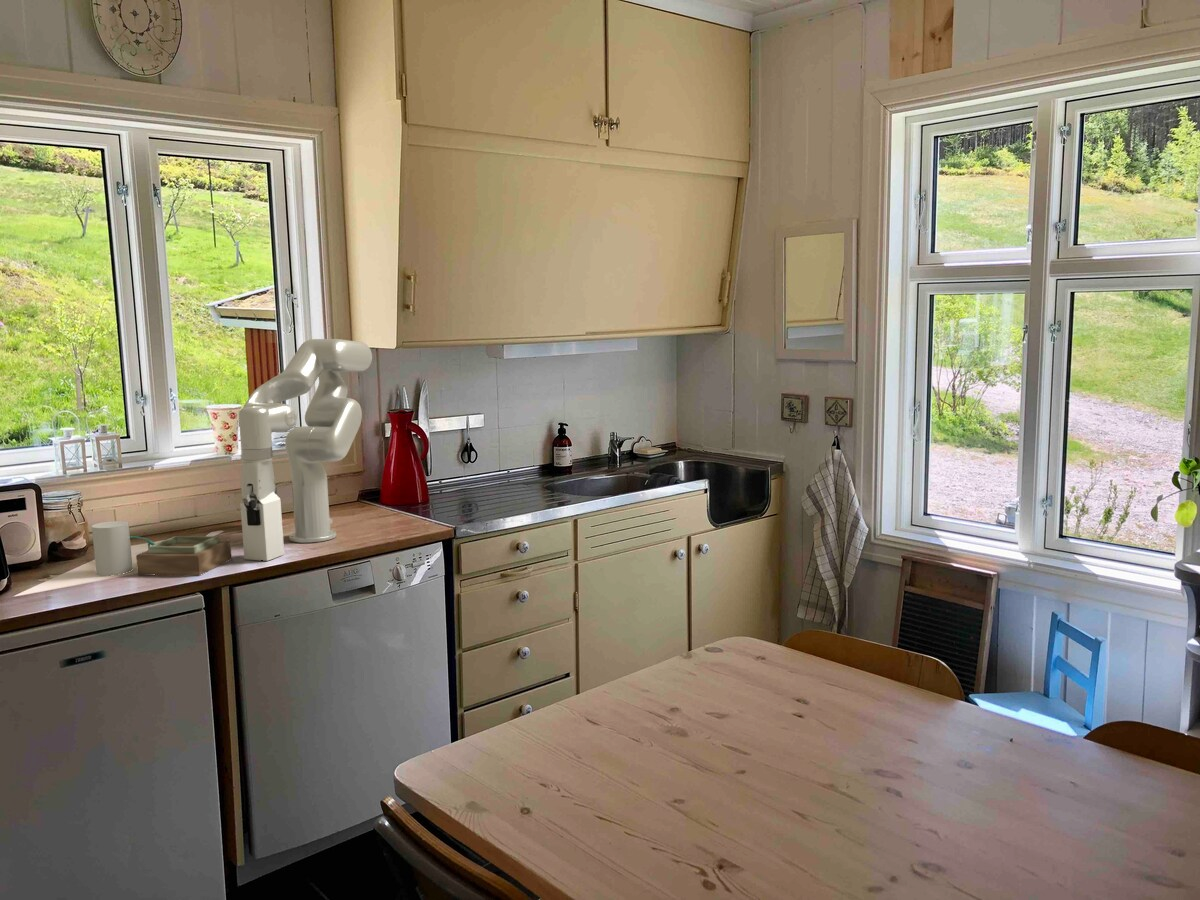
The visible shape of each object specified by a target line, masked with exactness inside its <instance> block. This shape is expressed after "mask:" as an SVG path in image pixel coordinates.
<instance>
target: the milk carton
mask: <svg viewBox="0 0 1200 900" xmlns="http://www.w3.org/2000/svg"><path fill="white" fill-rule="evenodd" d="M252 494H253V493H252ZM253 495H254V494H253ZM254 496H255V497H251V498H257V497H256V495H254ZM239 503H240V504H239V505H240V518H241V530H242V532H241V533H242V544H243V545H242V546H243V555H244V556H243V559H244V560H249V561H261V560H263V561H264V562H268V561H271V560H274V559H276V558H278V557H281V556H284V555H285V545H284V532H283V531H284V530H283V518H282V516H283V515H282V502H281V498H280V497H279V496H278V495H276V494H275V493H274V492H272V493H271V494H270V495H268V496H267V497H266V498H264V499H261V500H259V505H258V510H260V525H259V526H249V525H248V524H247V511H246V509H245V508H246V507H245V505H244V501H243V499H242V500H241V501H240V502H239ZM253 504H255V502H253ZM263 561H262V562H263Z"/></svg>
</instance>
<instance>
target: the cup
mask: <svg viewBox="0 0 1200 900" xmlns="http://www.w3.org/2000/svg"><path fill="white" fill-rule="evenodd" d="M91 531H92V533H91V534H92V541H93V542H92V543H93V551H94V552H93V553H94V563H95V565H94V566H95V572H96V573H95V574H96V576H99V577H111V575H114V576H119V575H118V574H121V575H124V574H123V573H125V574H127V573H126V572H128V573H130V572H129V571H131V570H132V569H133V568H134V567H133V559H132V558H133V557H132V546H131V538H130V536H131V535H130V534H131V533H130V526H129V521H126V520H113V521H105V522H104V521H103V522H99V523H95V524H92V525H91ZM133 570H134V569H133ZM133 570H132V571H133ZM132 571H131V572H132Z"/></svg>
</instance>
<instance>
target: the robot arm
mask: <svg viewBox="0 0 1200 900" xmlns="http://www.w3.org/2000/svg"><path fill="white" fill-rule="evenodd" d="M297 349H298V350H297V351H296V352H295V353H294V355H293V356H292V358H291V360H289V363H287V366H286V367H285V368H284V370H283V371H282V372H281V373H280V374H277V375H275V376H274V377H271V379H269V380H267V381H266V382H264V383H263V384H261V385H260V386H258V387H257V388H256V389H255V390H254V391H253V392H252V393H251V394H250V395H249V397H248V399H247V400H246V402H245V403H244V405H243V407H242V408H241V409H240V410H239V412H238V425H239V426H238V427H239V435H240V449H241V451H240V452H241V453H240V454H241V462H242V463H241V472H240V473H241V474H240V478H241V479H240V480H241V481H240V483H241V485H240V486H241V487H240V489H241V499H242V500H243V501H244V505H245V507H246V508H245V509H246V511H247V524H248V525H249V526H259V525H260V510H258V505H259V500H261V499H264V498H266V497H267V496H268V495H270V494H271V493H272V492H274V493H275V490H276V487H277V484H276V481H275V480H276V478H275V473H274V472H275V471H274V464H273V461H274V456H273V441H272V440H273V439H272V433H284V432H288V433H287V434H286V437H285V440H284V443H285V445H284V446H285V450H286V454H287V458H288V462H289V465H290V466H289V468H290V474H291V475H290V476H291V477H290V478H291V488H292V489H291V491H292V504H293V505H292V508H293V522H294V532H293V533H291V534H290V535H289V541H291V542H294V543H302V544H303V543H304V544H306V543H307V544H308V543H310V544H311V543H318V542H325V541H329V540H332V539H334V538H336V536H337V531H336V530H333V529H331V524H333V521H334V520H333V518H331V517H330V507H329V506H330V505H329V503H330V502H329V486H328V475H327V472H326V469H325V467H324V465H323V464H322V463H321V462H339V461H342V460H343V459H344V458H345V457H346V456H347V454H348V453H349V451H350V449H351V447H352V444H353V442H354V441H355V439H356V437H357V434H358V431H359V430H360V427H361V423H362V420H363V419H362V418H363V411H362V407H361V405H360V403H359V402H358V401H357V400H355V398H354V399H353V398H350V397H347V396H348V392H349V391H348V386H347V384H346V382H345V380H344V379H343V377H342V376H341V374H340V372H364V371H366V370H367V369H369V367H371V364H372V360H373V354H372V351H371V348H370V346H369V345H368V344H366V343H365V342H363V341H356V340H348V339H340V338H313V339H311V338H310V339H308V340H305V341H304V342H303V343H302V344H301V345H300V346H299V347H298V348H297ZM317 380H318V386H317V388H316V391H315V392H314V394H313V396H312V398H311V400H310V402H309V404H308V407H307V408H306V411H305V414H304V423H305V424H306V425H305V426H297V427H295V425H296V423H297V419H298V418H297V417H298V416H297V412H296V410H295V409H294V408H293V407H292V406H291V405H289V404H287V403H282V402H284V401H288V400H291V399H292V400H293V399H294V398H297V397H299V396H300V397H301V396H303V395H305V394H307V393H309V392H310V390H312V388H313V386H314V384H315V383H316V381H317ZM252 493H253V494H254V495H256V497H257V498H251V497H255V496H254V495H253V494H252ZM275 494H276V493H275ZM253 502H255V504H253Z"/></svg>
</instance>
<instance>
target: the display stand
mask: <svg viewBox="0 0 1200 900" xmlns="http://www.w3.org/2000/svg"><path fill="white" fill-rule="evenodd" d="M135 558H136V568H137V575H138V574H155V575H154V576H184V575H200V576H202V575H204V574H206V573H208V572H210V571H211V570H214V569H215V567H216V568H218V567H219V566H221V565H223V564H225V563H227V562H229V561H231V560H232V559H233V558H232V545H231V540H230V539H228V540H226V539H225V540H223V539H221V540H220V539H219V536H217V535H215V536H210V535H209V536H207V535H205V536H203V535H202V536H198V535H197V536H196V535H194V536H193V535H192V536H191V535H189V536H188V535H187V536H186V535H177V536H176V535H175V536H171V537H170V538H166V539H165V540H163V541H160V542H157V543H155V545H150V547H148V546H147V550H145V551H142V553H141V552H140V553H138V554H136V555H135ZM230 559H231V560H230ZM228 560H229V561H228ZM226 561H227V562H226ZM213 568H214V569H213ZM209 570H210V571H209ZM205 572H206V573H205ZM203 573H204V574H203ZM201 574H202V575H201Z"/></svg>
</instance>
